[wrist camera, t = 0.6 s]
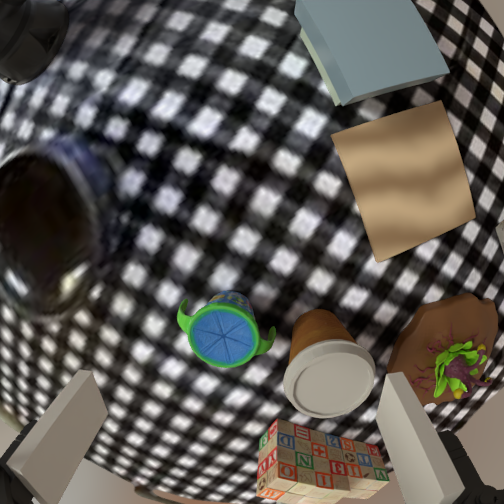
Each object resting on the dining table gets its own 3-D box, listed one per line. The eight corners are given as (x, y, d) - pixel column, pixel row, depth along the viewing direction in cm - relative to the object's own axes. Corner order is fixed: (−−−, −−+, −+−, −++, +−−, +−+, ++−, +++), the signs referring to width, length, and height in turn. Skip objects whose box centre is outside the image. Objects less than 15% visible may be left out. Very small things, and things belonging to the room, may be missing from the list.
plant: (401, 293, 38) (439, 333, 27) (501, 289, 37) (543, 318, 26) (374, 406, 43) (392, 456, 32) (467, 390, 42) (494, 428, 31)
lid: (294, 13, 25) (297, -6, 21) (384, -5, 23) (396, -21, 19) (342, 106, 28) (353, 97, 23) (431, 81, 26) (450, 72, 22)
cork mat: (330, 135, 33) (332, 134, 32) (438, 101, 31) (441, 100, 30) (375, 261, 36) (377, 262, 36) (472, 216, 34) (475, 217, 33)
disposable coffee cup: (355, 296, 38) (386, 344, 26) (347, 358, 40) (368, 417, 29) (280, 297, 38) (285, 349, 27) (278, 361, 41) (281, 422, 29)
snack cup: (179, 315, 40) (162, 344, 32) (199, 264, 38) (184, 286, 30) (259, 349, 40) (257, 383, 33) (285, 301, 38) (288, 330, 31)
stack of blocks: (378, 444, 45) (394, 494, 33) (357, 463, 47) (369, 512, 35) (276, 417, 44) (277, 478, 32) (258, 439, 45) (255, 497, 33)
